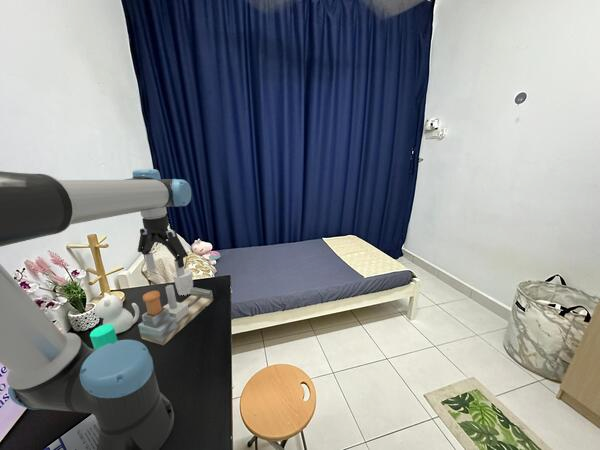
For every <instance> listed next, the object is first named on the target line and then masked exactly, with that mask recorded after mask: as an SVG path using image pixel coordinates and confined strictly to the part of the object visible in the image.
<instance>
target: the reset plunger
mask: <svg viewBox="0 0 600 450" xmlns="http://www.w3.org/2000/svg"><path fill="white" fill-rule="evenodd" d="M160 297H161V294H160V291H159V290H151V291H150V290H149V291H147V292H146V293H144V294H143V295H142V300H143V302H144V303H145V306H146V310H147V311H148V314H149V315H153V316H156V315H157V314H158V313H160V312H161V311H162V308H161V307H162V304H161V300H160ZM147 311H146V312H147Z"/></svg>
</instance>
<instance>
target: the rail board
mask: <svg viewBox="0 0 600 450" xmlns="http://www.w3.org/2000/svg"><path fill="white" fill-rule="evenodd" d="M190 292H191V293H190V296H188V297H187V298H186V299H184V300H183V301H181V303H183V304H188V309H189V313H188V314H187V315H185V316H184V317H183V318H182V319H181V320H179V321H178V322H177V320H176V318H174V317H170V315H169V310H168V308H164V306H161V308H162V311H161V312H160V313H158V314H157V315H156V316H153V315H149V314H148V311H146V312H144V313H143V314H142V315H141V317H142V318H141V319H142V321H141V322H140V323H138V325H137V326H138V330H139V334H140V337H141V339H142V340H145V341H148V342H151V343H155V344H157V345H161V346H165V345H166V344H167V343H168V342H169V341H170V340H171V339H172V338H174V337H175V335H177V334H178V333H179V332H180V331H181V330H182V329H183V328H184V327H186V326H187V325H188V324H189V323H190V322H191V321H192V320H194V319H195V318H196V317H197V316H198V315H199V314H200V313H201V312H202V311H203V310H204V309H206V308H207V307H208V306H210V304H211V303H213V302H214V296H213V290H210V289H205V288H201V287H200V288H199V287H196V286H195V287H194V286H193V288H191V289H190ZM206 306H207V307H206ZM205 307H206V308H205Z"/></svg>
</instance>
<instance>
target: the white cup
mask: <svg viewBox="0 0 600 450" xmlns="http://www.w3.org/2000/svg"><path fill="white" fill-rule="evenodd" d="M184 273H185V274H183V275H182V276H180V277H177V273H176V271H174V272H173V274H172V277H173V280H174V285H175V288H176V292H177V294H178V295H179V296H181V295H182V296H183V295H184V296H188V295H191V292H190V289H191V288H193V287H194V279H193V270H192V269H190V268H184ZM187 294H188V295H187ZM184 296H183V297H184Z"/></svg>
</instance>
